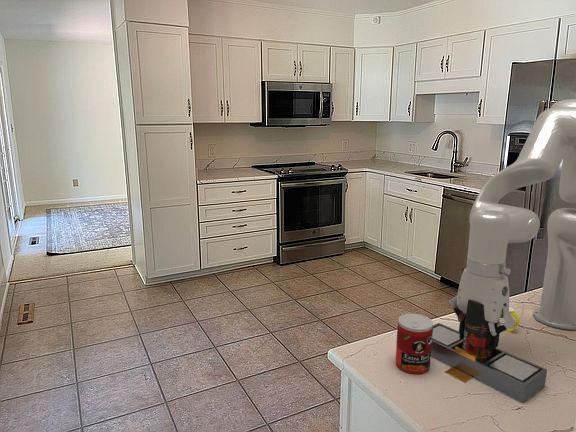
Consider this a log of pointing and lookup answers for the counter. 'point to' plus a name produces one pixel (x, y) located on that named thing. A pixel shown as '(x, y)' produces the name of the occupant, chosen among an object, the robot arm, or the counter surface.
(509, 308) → the watch
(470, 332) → the deodorant
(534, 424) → the counter surface
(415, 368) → the canned food
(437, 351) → the rack
